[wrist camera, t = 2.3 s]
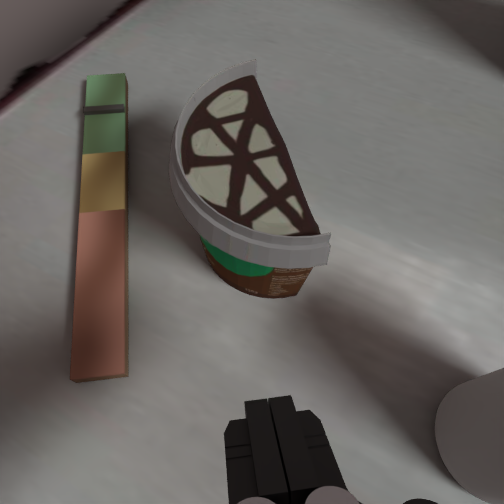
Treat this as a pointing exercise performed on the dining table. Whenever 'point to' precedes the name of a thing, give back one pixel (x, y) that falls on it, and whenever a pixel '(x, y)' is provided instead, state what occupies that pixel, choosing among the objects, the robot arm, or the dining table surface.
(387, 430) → the dining table surface
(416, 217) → the dining table surface
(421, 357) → the dining table surface
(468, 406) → the beverage can
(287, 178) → the food container
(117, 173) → the strip
